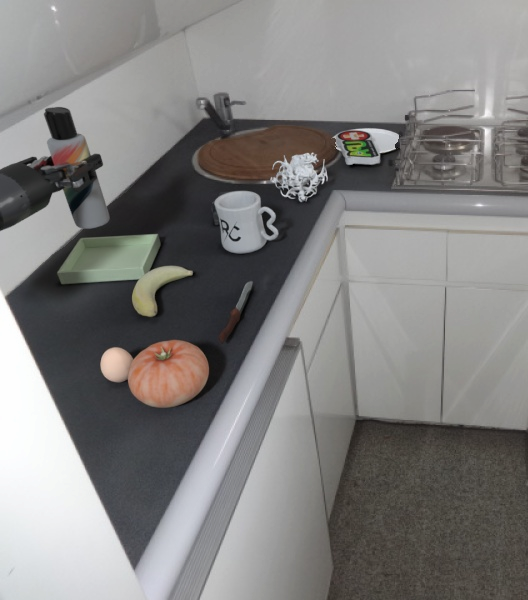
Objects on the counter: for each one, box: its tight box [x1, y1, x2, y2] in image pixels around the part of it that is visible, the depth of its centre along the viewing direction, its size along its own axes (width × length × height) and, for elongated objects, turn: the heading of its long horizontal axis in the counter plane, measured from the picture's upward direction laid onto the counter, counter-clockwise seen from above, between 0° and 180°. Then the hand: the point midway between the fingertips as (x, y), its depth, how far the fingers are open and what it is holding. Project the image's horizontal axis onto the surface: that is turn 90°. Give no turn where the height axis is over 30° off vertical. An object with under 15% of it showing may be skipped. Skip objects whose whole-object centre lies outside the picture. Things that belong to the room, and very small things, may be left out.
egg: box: [100, 346, 134, 383], centre depth 85 cm, size 4×4×6 cm
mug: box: [213, 190, 279, 255], centre depth 117 cm, size 12×9×10 cm
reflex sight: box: [210, 191, 230, 225], centre depth 130 cm, size 4×10×5 cm, turn 9°
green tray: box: [56, 233, 162, 285], centre depth 114 cm, size 15×13×2 cm
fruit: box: [131, 265, 194, 318], centre depth 104 cm, size 7×15×3 cm, turn 172°
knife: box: [218, 280, 254, 344], centre depth 99 cm, size 18×2×3 cm, turn 177°
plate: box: [332, 127, 400, 155], centre depth 167 cm, size 21×21×1 cm
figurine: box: [270, 152, 329, 203], centre depth 137 cm, size 13×15×12 cm
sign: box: [335, 129, 381, 166], centre depth 158 cm, size 22×2×10 cm
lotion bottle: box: [43, 106, 110, 230], centre depth 98 cm, size 6×6×20 cm
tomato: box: [127, 339, 210, 409], centre depth 82 cm, size 11×11×8 cm
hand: (83, 157), depth 99 cm, fingers closed on lotion bottle, 5 cm apart
